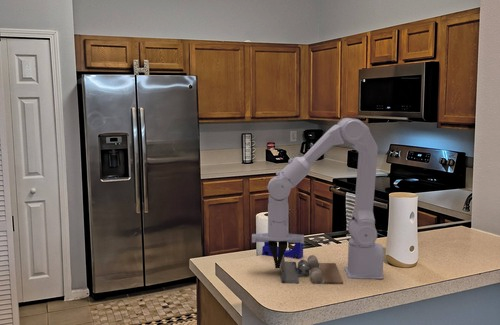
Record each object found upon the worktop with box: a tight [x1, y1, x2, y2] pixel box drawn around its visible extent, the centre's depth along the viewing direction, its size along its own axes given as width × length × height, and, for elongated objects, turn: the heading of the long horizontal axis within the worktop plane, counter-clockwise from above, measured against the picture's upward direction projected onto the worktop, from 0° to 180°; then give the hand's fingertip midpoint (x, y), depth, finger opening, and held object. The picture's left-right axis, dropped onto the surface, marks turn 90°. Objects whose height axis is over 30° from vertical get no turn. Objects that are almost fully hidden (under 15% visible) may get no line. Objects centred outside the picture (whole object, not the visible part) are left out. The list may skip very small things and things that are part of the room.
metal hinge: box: [280, 255, 311, 284], centre depth 135 cm, size 8×15×3 cm, turn 178°
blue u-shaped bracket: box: [261, 242, 304, 260], centre depth 150 cm, size 12×4×6 cm, turn 64°
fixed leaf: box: [306, 254, 344, 285], centre depth 134 cm, size 8×15×3 cm, turn 178°
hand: (277, 267), depth 135 cm, fingers closed
